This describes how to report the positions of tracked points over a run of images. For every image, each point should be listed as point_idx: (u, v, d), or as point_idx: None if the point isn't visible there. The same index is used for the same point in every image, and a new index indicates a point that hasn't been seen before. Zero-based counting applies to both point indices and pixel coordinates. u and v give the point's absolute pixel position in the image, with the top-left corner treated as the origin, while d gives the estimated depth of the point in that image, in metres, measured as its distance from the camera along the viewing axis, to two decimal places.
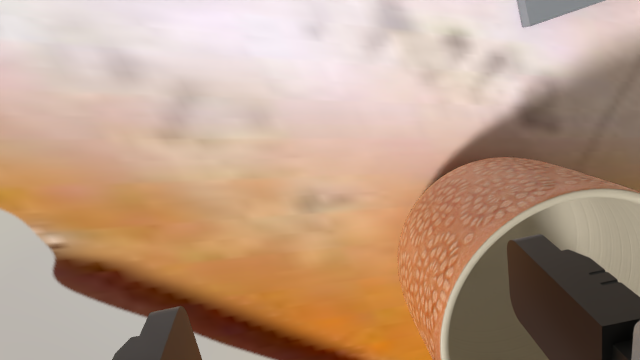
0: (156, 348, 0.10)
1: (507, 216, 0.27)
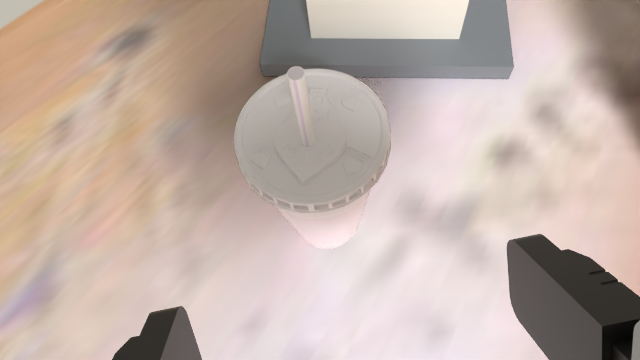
0: (156, 348, 0.10)
1: None
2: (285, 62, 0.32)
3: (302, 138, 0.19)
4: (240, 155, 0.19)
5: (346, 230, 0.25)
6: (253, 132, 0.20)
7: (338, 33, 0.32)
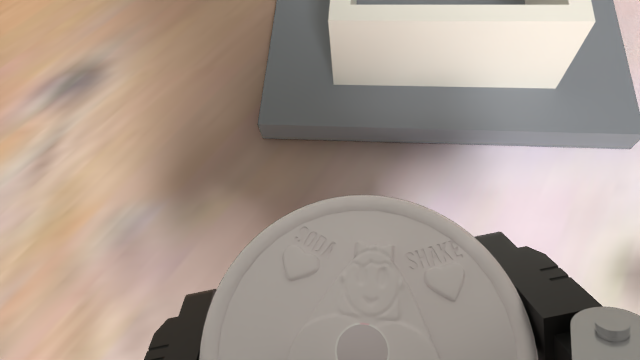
0: (197, 326, 0.10)
1: None
2: (295, 121, 0.21)
3: None
4: None
5: None
6: (241, 345, 0.09)
7: (374, 79, 0.21)
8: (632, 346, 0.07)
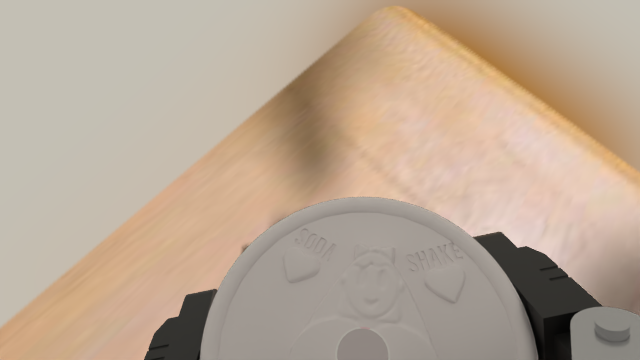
0: (197, 326, 0.10)
1: None
2: None
3: None
4: None
5: None
6: (241, 347, 0.09)
7: None
8: (632, 346, 0.07)
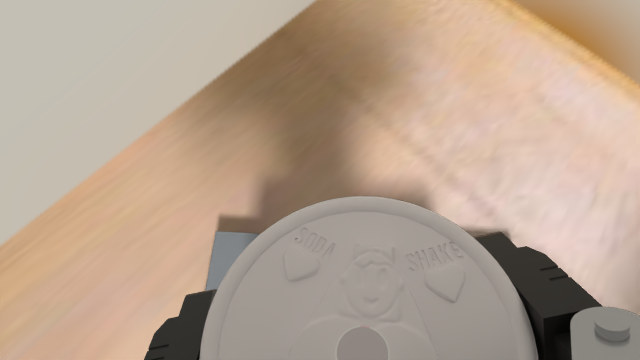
0: (197, 326, 0.10)
1: None
2: None
3: None
4: None
5: None
6: (241, 346, 0.09)
7: None
8: (632, 346, 0.07)
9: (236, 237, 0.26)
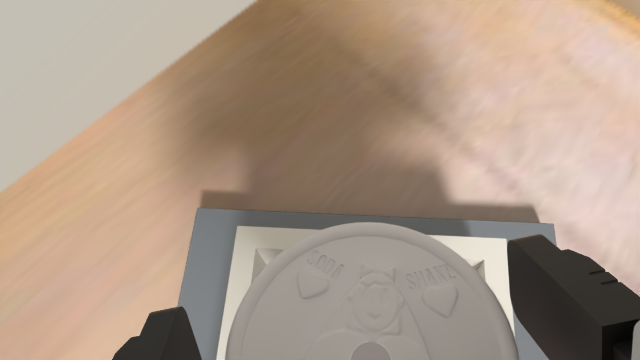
0: (156, 348, 0.10)
1: None
2: None
3: None
4: None
5: None
6: (260, 356, 0.11)
7: None
8: None
9: (220, 214, 0.23)
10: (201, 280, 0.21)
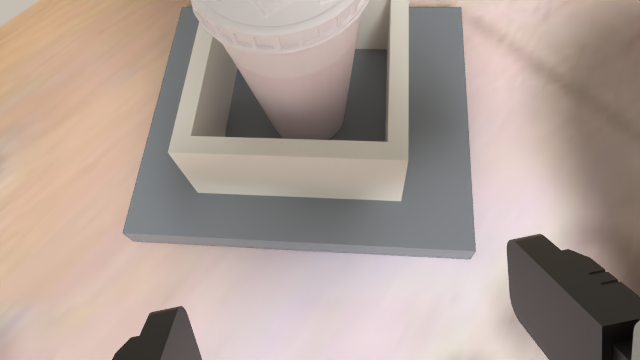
0: (156, 348, 0.10)
1: None
2: (157, 230, 0.23)
3: None
4: None
5: (328, 112, 0.21)
6: None
7: (232, 190, 0.23)
8: None
9: None
10: (184, 52, 0.27)
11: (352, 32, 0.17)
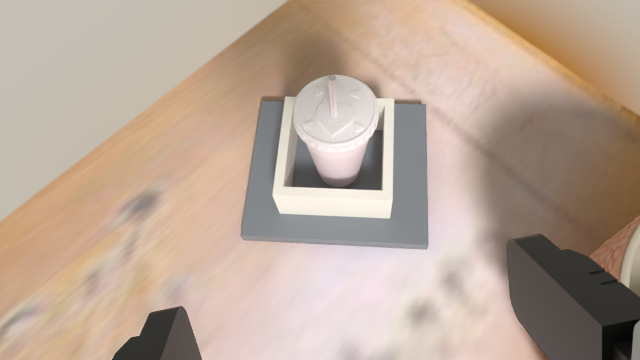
0: (156, 348, 0.10)
1: None
2: (259, 234, 0.42)
3: (331, 112, 0.35)
4: (297, 122, 0.35)
5: (352, 171, 0.41)
6: (303, 110, 0.36)
7: (299, 212, 0.42)
8: None
9: (272, 103, 0.48)
10: (265, 130, 0.47)
11: None
